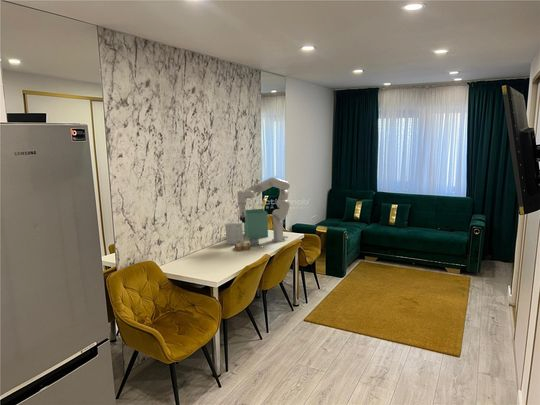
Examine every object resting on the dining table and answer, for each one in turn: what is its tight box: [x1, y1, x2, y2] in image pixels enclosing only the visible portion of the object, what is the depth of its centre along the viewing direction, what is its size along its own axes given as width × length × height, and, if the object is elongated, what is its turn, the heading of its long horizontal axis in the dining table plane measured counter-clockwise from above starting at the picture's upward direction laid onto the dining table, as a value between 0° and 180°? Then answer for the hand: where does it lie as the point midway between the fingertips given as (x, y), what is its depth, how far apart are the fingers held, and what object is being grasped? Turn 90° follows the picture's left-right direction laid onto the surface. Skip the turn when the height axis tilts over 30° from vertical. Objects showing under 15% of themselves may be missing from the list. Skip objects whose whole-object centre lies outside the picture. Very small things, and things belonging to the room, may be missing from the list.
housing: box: [248, 238, 260, 248], centre depth 366 cm, size 8×5×7 cm, turn 106°
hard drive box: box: [225, 222, 244, 245], centre depth 375 cm, size 16×8×20 cm, turn 84°
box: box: [243, 208, 269, 239], centre depth 403 cm, size 23×21×26 cm
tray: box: [234, 242, 251, 252], centre depth 356 cm, size 12×12×4 cm
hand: (242, 221), depth 364 cm, fingers open, 9 cm apart
